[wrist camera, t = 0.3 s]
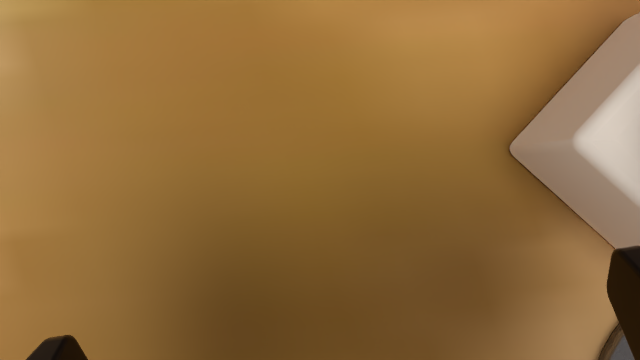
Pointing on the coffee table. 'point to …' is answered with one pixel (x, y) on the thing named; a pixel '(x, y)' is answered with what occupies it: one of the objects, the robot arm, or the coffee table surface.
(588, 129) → the medicine bottle
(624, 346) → the plate
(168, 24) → the coffee table surface
